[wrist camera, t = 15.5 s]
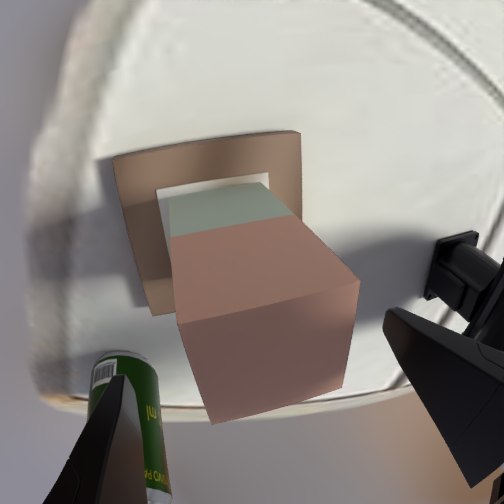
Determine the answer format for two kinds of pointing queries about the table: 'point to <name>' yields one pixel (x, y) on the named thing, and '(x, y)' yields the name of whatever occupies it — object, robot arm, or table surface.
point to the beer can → (148, 412)
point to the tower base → (194, 180)
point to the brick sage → (223, 208)
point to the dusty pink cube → (262, 315)
